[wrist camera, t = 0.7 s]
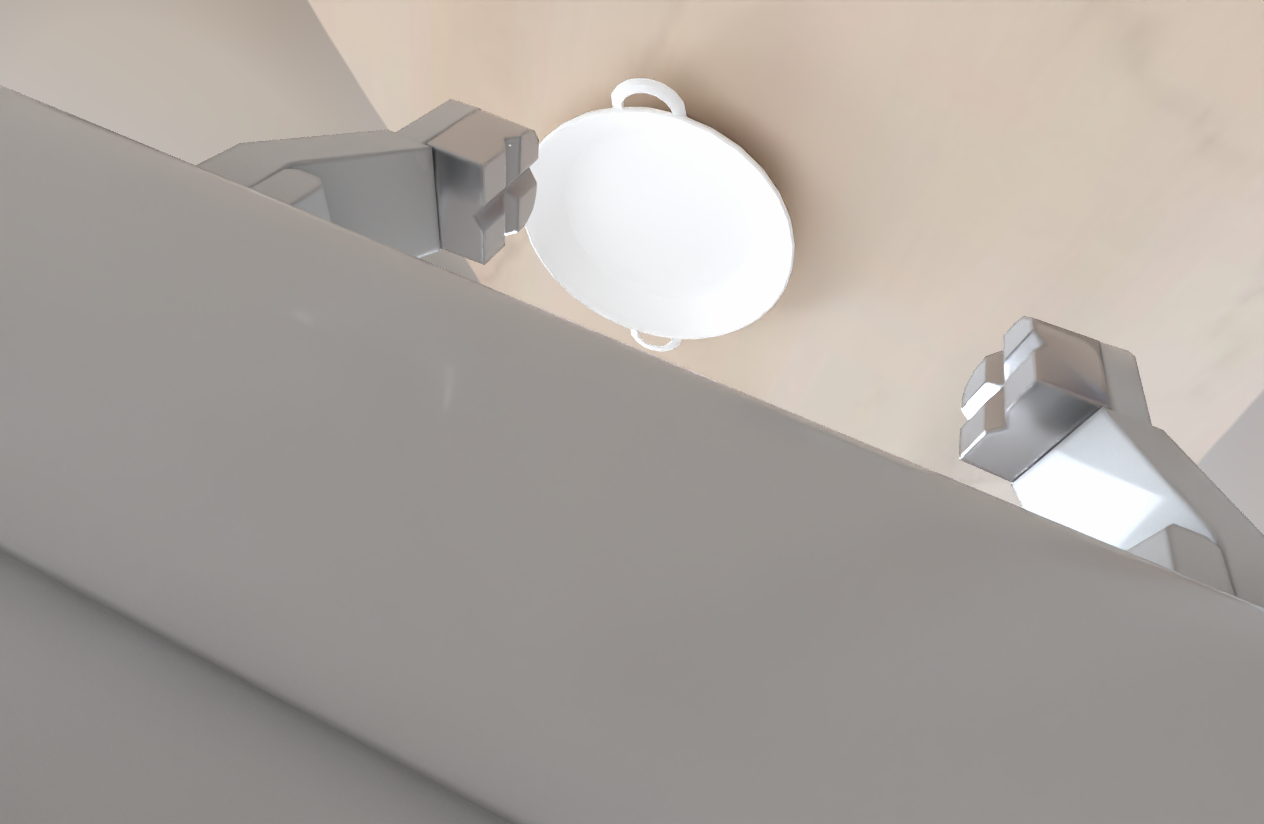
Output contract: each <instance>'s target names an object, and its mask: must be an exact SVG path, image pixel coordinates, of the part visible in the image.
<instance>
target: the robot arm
mask: <svg viewBox="0 0 1264 824" xmlns="http://www.w3.org/2000/svg"><path fill="white" fill-rule="evenodd" d="M538 150H539V139H538V137H537V135H536V133H535V131H534V130H531V129H529V128H526V127H524V126H521V125H519V124H516V123H514V122H511V121H509V120H506V119H504V118H501V117H499V116H496V115H494V114H491V113H489V112H486V111H483V110H481V109H480V108H477V107H474V106H471V105H468V104H465V103H463V102H460V101H456V100H452V99H450V100H448V101H447V102H445V103H443V104H442V105H440V106H438V107H437V108H435V109H433V110H432V111H430V112H429V113H427V114H425V115H424V116H422V117H420V118H419V119H417V120H415V121H414V122H412V123H410V124H409V125H407V126H406V127H404V128H402V129H401V130H399V131H397V132H396V133H395V132H392V131H389V130H378V131H367V132H356V133H345V134H336V135H324V136H313V137H302V138H291V139H280V140H269V141H258V142H248V143H239V144H237V145H235V146H234V147H232V148H230V149H228V150H226V151H224V152H222V153H220V154H218V155H216V156H214V157H212V158H210V159H208V160H206V161H204V162H202V163H200V164H198V165H196V166H195V165H193V164H190V163H187V162H185V161H183V160H180V159H178V158H175V157H173V156H171V155H168V154H166V153H163V152H161V151H159V150H156V149H154V148H151V147H149V146H147V145H144V144H142V143H139V142H137V141H135V140H132V139H130V138H127V137H125V136H122V135H120V134H118V133H115V132H113V131H111V130H108V129H105V128H103V127H101V126H98V125H96V124H94V123H91V122H89V121H86V120H84V119H81V118H79V117H77V116H74V115H72V114H69V113H67V112H64V111H62V110H59V109H57V108H55V107H53V106H50V105H48V104H45V103H43V102H40V101H38V100H35V99H33V98H31V97H28V96H26V95H23V94H21V93H19V92H16V91H14V90H12V89H9V88H7V87H4V86H2V85H0V824H1264V535H1263V534H1262V533H1261V532H1260V531H1259V530H1258V529H1257V528H1256V527H1255V526H1254V525H1253V524H1252V523H1251V521H1249V519H1248V518H1247V517H1246V516H1245V515H1244V514H1243V513H1242V512H1241V511H1240V510H1239V509H1238V508H1237V507H1236V506H1235V505H1234V504H1233V503H1232V502H1231V501H1230V500H1229V498H1227V496H1226V495H1225V494H1224V493H1223V492H1222V491H1221V490H1220V489H1219V488H1218V487H1217V486H1216V485H1215V484H1214V483H1213V482H1212V481H1211V480H1210V479H1209V478H1208V477H1207V476H1206V474H1205V473H1204V472H1203V471H1202V470H1201V469H1200V468H1199V467H1198V466H1197V465H1196V464H1195V463H1194V462H1193V461H1192V460H1191V459H1190V458H1189V457H1188V456H1187V455H1186V454H1185V453H1184V451H1183V450H1182V449H1181V448H1180V447H1179V446H1178V445H1177V444H1176V443H1175V442H1174V441H1173V440H1172V439H1171V438H1170V437H1169V436H1168V435H1167V434H1166V433H1165V432H1164V431H1163V430H1162V429H1159V428H1156V427H1154V426H1152V424H1151V420H1150V416H1149V412H1148V408H1147V404H1146V399H1145V395H1144V391H1143V387H1142V383H1141V379H1140V375H1139V371H1138V366H1137V362H1136V358H1135V356H1134V355H1133V354H1131V353H1130V352H1129V351H1127V350H1124V349H1121V348H1118V347H1115V346H1112V345H1109V344H1106V343H1103V342H1100V341H1098V340H1095V339H1092V338H1089V337H1086V336H1084V335H1081V334H1078V333H1075V332H1072V331H1069V330H1066V329H1063V328H1061V327H1058V326H1055V325H1052V324H1049V323H1046V322H1043V321H1040V320H1038V319H1035V318H1032V317H1026V316H1024V317H1022V318H1021V319H1020V320H1018V321H1017V322H1016V323H1014V325H1013V326H1012V327H1011V328H1010V329H1009V330H1008V331H1007V333H1006V334H1005V335H1004V350H1003V351H1000V352H997V353H994V354H991V355H988V356H986V357H985V358H984V359H983V361H982V362H981V363H980V364H979V365H978V367H977V368H976V369H975V370H974V372H973V374H972V375H971V377H970V379H969V381H968V383H967V385H966V387H965V390H964V393H963V397H962V405H961V410H962V411H963V413H964V414H965V416H966V417H967V419H968V421H967V422H966V423H965V424H964V425H963V426H962V428H961V429H960V444H959V459H960V460H962V461H964V462H967V463H969V464H971V465H973V466H976V467H978V468H980V469H983V470H985V471H987V472H989V473H992V474H994V475H996V476H999V477H1001V478H1003V479H1005V480H1008V481H1010V482H1012V484H1011V485H1012V487H1013V489H1014V491H1015V493H1016V495H1017V497H1018V499H1019V501H1020V503H1021V504H1022V506H1023V508H1021V507H1019V506H1016V505H1014V504H1011V503H1009V502H1007V501H1004V500H1002V499H999V498H997V497H994V496H992V495H990V494H987V493H985V492H982V491H980V490H978V489H975V488H973V487H970V486H968V485H965V484H963V483H961V482H958V481H956V480H953V479H951V478H949V477H946V476H944V475H941V474H939V473H936V472H934V471H932V470H929V469H927V468H924V467H922V466H920V465H917V464H915V463H912V462H910V461H907V460H905V459H903V458H900V457H898V456H895V455H893V454H891V453H888V452H886V451H883V450H881V449H878V448H876V447H874V446H871V445H869V444H866V443H864V442H862V441H859V440H857V439H854V438H852V437H849V436H847V435H845V434H842V433H840V432H837V431H835V430H833V429H830V428H828V427H825V426H823V425H820V424H818V423H816V422H813V421H811V420H808V419H806V418H804V417H801V416H799V415H796V414H794V413H791V412H789V411H787V410H784V409H782V408H779V407H777V406H775V405H772V404H770V403H767V402H765V401H762V400H760V399H758V398H755V397H753V396H750V395H748V394H746V393H743V392H741V391H738V390H736V389H734V388H731V387H729V386H726V385H724V384H721V383H719V382H717V381H714V380H712V379H709V378H707V377H705V376H702V375H700V374H697V373H695V372H692V371H690V370H688V369H685V368H683V367H680V366H678V365H676V364H673V363H671V362H668V361H666V360H663V359H661V358H659V357H656V356H654V355H651V354H649V353H647V352H644V351H642V350H639V349H637V348H634V347H632V346H630V345H627V344H625V343H622V342H620V341H618V340H615V339H613V338H610V337H608V336H606V335H603V334H601V333H598V332H596V331H593V330H591V329H589V328H586V327H584V326H581V325H579V324H577V323H574V322H572V321H569V320H567V319H564V318H562V317H560V316H557V315H555V314H552V313H550V312H548V311H545V310H543V309H540V308H538V307H535V306H533V305H531V304H528V303H526V302H523V301H521V300H519V299H516V298H514V297H511V296H509V295H506V294H504V293H502V292H499V291H497V290H494V289H492V288H490V287H487V286H485V285H482V284H480V283H478V282H475V281H473V280H470V279H468V278H465V277H463V276H461V275H458V274H456V273H453V272H451V271H448V270H446V269H444V268H441V267H439V266H436V265H434V264H432V263H429V262H427V261H424V260H422V259H420V257H423V256H426V255H429V254H431V253H435V252H437V251H440V248H441V249H444V250H447V251H449V252H452V253H454V254H457V255H460V256H462V257H465V258H468V259H470V260H473V261H476V262H478V263H481V264H484V265H485V264H486V263H487V262H488V261H489V260H490V259H491V258H492V257H493V256H494V255H495V254H496V253H497V252H499V251H500V250H501V249H502V248H503V247H504V246H505V235H509V234H513V233H518V232H519V231H520V230H521V229H522V228H523V226H524V225H525V224H526V223H527V221H528V219H529V217H530V215H531V213H532V211H533V208H534V203H535V199H536V191H537V182H536V180H535V178H534V176H533V174H532V172H531V170H530V167H531V166H532V165H533V164H534V163H535V162H536V161H537V159H538Z"/></svg>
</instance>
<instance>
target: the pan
mask: <svg viewBox="0 0 1264 824" xmlns="http://www.w3.org/2000/svg"><path fill="white" fill-rule="evenodd" d="M634 93H646V94H650V95H654V96H656V97H658V98H659V99H661V100H662V101H664V102H665V103H666V104H667V105H668V107H669V108H670V109H671V111H672V112H668V111H664V110H659V109H655V108H650V107H625V106H624V104H623V101H624V99H625V98H626V97H627V96H630V95H632V94H634ZM611 97H612V107H611V108H605V109H600V110H595V111H589V112H587V113H584V114H582V115H580V116H578V117H575V118H573V119H571V120H569V121H566V122H564V123H563V124H561V125H560V126H559V127H558V128H556V129H555V130H554V131H553V132H551V133H550V134H549V135H548V136H546V137H545V138H544V139H543V141H542V142H541V143H540V145H539V150H538V159H537V161H536V162H535V163H534V164H533V165H532V166H531V167H530V170H531V172H532V174H533V176H534V178H535V180H536V182H537V191H536V199H535V203H534V208H533V211H532V213H531V215H530V217H529V219H528V221H527V223H526V224H525V227H526V230H527V233H528V236H529V239H530V241H531V244H532V245H533V247H534V249H535V251H536V253H537V254H538V256H539V258H540V260H541V261H542V263H543V264H544V265H545V267H546V268H547V269H548V271H549V272H550V273H551V274H552V276H553V277H554V278H555V279H556V281H558V282H559V283H560V284H561V285H562V286H563V287H564V288H565V289H566V290H567V291H568V292H569V293H570V294H571V295H572V296H573V297H575V298H576V299H577V300H579V301H580V302H581V303H583V304H584V305H585V306H587V307H588V308H590V309H591V310H593V311H594V312H596V313H598V314H600V315H601V316H603V317H605V318H607V319H609V320H610V321H612V322H615V323H617V324H620V325H622V326H625V327H627V328H629V329H631V335H632V336H633V337H634V338H635V340H636V341H637V342H638V343H639V344H641V345H642V346H644V347H645V348H648V349H651V350H654V351H668V350H672V349H675V348H676V347H677V346H678V345H680V342H681V339H702V338H709V337H715V336H721V335H724V334H727V333H730V332H733V331H736V330H739V329H741V328H743V327H745V326H747V325H749V324H750V323H752V322H754V321H756V320H758V319H759V318H760V317H761V316H762V315H763V314H765V313H766V312H767V311H768V310H769V309H770V308H771V307H772V306H774V304H775V303H776V301H777V300H778V298H779V297H780V295H781V294H782V293H783V291H784V290H785V288H786V285H787V282H788V280H789V277H790V274H791V271H792V269H793V261H794V250H795V241H794V235H793V229H792V223H791V218H790V216H789V213H788V211H787V209H786V206H785V204H784V201H783V199H782V197H781V194H780V192H779V191H778V189H777V188H776V187H775V185H774V184H773V182H772V181H771V179H770V178H769V176H768V175H767V174H766V172H765V171H764V169H763V168H762V167H761V166H760V165H759V164H758V163H757V162H756V161H755V160H754V159H753V158H752V157H751V156H750V155H749V154H747V153H746V152H745V151H744V150H743V149H742V148H741V147H740V146H739V145H737V144H736V143H734V142H733V141H731V140H730V139H728V138H727V137H725V136H724V135H722V134H721V133H719V132H718V131H716V130H715V129H713V128H712V127H709V126H707V125H705V124H702V123H700V122H698V121H695V120H693V119H691V118H688V117H687V116H686V110H685V105H684V102H683V101H682V100H681V98H680V97H679V96H678V95H677V93H676V92H675V91H674V90H672V89H671V88H669V87H668V86H666V85H664V84H663V83H661V82H658V81H654V80H651V79H647V78H636V79H629V80H627V81H625V82H622V83H620V84H618V85H617V87H616V88H615V90H614V91H613V92H612V94H611ZM639 332H642V333H646V334H650V335H653V336H659V337H667V338H672V341H671V342H670V343H668V344H666V345H662V346H659V345H653V344H650V343H648V342H646V341H645V340H643V339H642V338H641V336H640V335H639Z"/></svg>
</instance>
